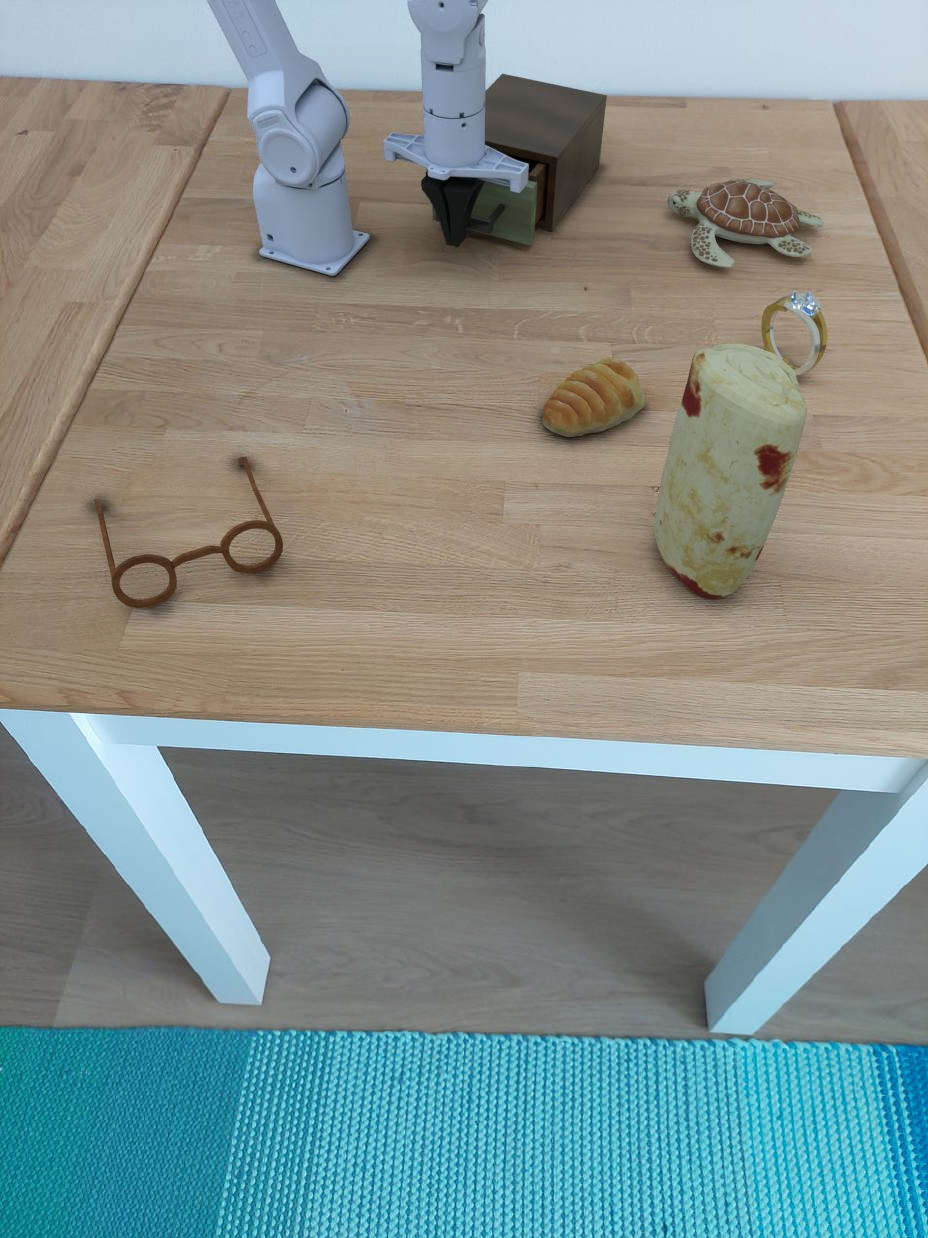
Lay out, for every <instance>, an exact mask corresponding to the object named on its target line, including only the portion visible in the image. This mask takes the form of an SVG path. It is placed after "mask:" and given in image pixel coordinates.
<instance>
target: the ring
mask: <svg viewBox="0 0 928 1238" xmlns="http://www.w3.org/2000/svg"><path fill="white" fill-rule="evenodd" d="M812 294H813V293H812V291H811V290H810V291H807V292H806V293H798V290H796V289H793V290H792V293H791V294H788V295H785V296H781V298H778V299H777V300H776V301H775V302H773V303H771V304H769V305H767V306H766V307H765V308H764V309H763V312H762V316H761V325H760V326H761V327H760V329H761V330H760V331H761V337H762V342H763V347H764V350H766V351H768V352H771V353H774V354H775V355H777V356H778V357H779V358H780V359H781V360H783V361H784V362H785V363H786V364H787V365H789V366H790V367H791V368H792V369H793V370H794V372H795V375H796V376H800V375H801V376H802V375H804V374H806V373H809V372H810V371H812V370H813V369H815V368H816V367H817V366H818V364H819V363H820V362H821V360H822V359H823V356H824V355H825V351H826V349H827V344H828V326H827V322H826V319H825V317H824V314H823V313H822V311H821V309H822V303H821V301H820V300H819V299H818V297H816V296H814V295H812ZM779 312H784V313H787V312H789V313H791V314H792V315H794V316H795V317H796V318H798V319H799V320H800V321H801V322H802V323H803V324H804V325H805V327H806V328H807V330H808V333H809V336H810V351H809V355H808V358H807V360H806V361H805V363H804V364H803V365H802V366H794V365H793V364H791V363H790V360H789V359H788V358H786V357H783V356H782V355H781V353H780V352H779V350H778V348H777V344H776V341H775V336H774V324H775V319H776V316H777V314H778V313H779Z"/></svg>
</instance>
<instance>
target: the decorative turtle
mask: <svg viewBox="0 0 928 1238" xmlns="http://www.w3.org/2000/svg"><path fill="white" fill-rule="evenodd" d="M772 187H774V182H772V181H770V180H763V179H755V178H754V179H753V178H751V179H750V178H742V179H741V178H740V179H739V178H738V179H737V178H736V179H730V180H726V181H721V182H716V183H712V184H710V185H709V186H706V187H705V188H703V189H702V191H694V190H690V189H682V188H681V189H677V190H675V191H674V192H673V193H672V194H671V195H669V196H668V198H667V206H668V208H669V209H670V210H671V211H672V212H673V213H675V214H676V215H677V216H680V217H685V218H694V219H695V220H696V221H698V224H697V225H696V226H695V227H694V228H693V231H692V233H691V235H690V248H691V251H692V252H693V255H694V256H695V257H696V258H697V259H698V260H700V261H701V262H703V263H705V264H706V265H710V266H713V267H717V268H718V267H719V268H723V269H730V268H732V267H733V266H734V265H735V260H734V259H733V258H732V257H731V256H730V255H729V254H728V253H726V252H725V251H724V250H723V249H722V248H721V247H720V246H719V244H718V243H717V240H716V237H718V238H721V239H724V240H725V239H726V240H728V241H733V242H736V243H741V244H750V245H751V244H752V245H764V244H769V245H770V246H771V247H772V248H773V249H774V250H775V251H777V252H778V253H779V254H782V255H784V256H787V257H791V258H792V257H793V258H806V257H808V256H810V255H811V253H812V252H813V248H812V247H811V246H810V245H808V243H805V242H803V241H801V240H800V239H798V238H796V237H794V236H793V235H795V234H796V233H797V232H798V231H799V228H800V226H801V224H804V225H807V226H810V227H817V228H821V227H823V226H824V223H825V222H824V220H823V219H822V218H821V217H820V216H817V215H815V214H812V213H810V212H807V211H806V210H805V211H804V210H802V209H798V208H797V206H795V205H794V204H792V203H791V202H790V201H788V200H787V199H786V198H785V197H783V196H781V195H780V194H778V193H776V192H775V191H773V190H771V189H772Z"/></svg>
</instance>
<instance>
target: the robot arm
mask: <svg viewBox="0 0 928 1238" xmlns="http://www.w3.org/2000/svg"><path fill="white" fill-rule="evenodd" d="M488 1H489V0H407V8H408V14H409V16H410V18H411V21H412V23H413V25H414V26H415V28H416V29H417V30H418V32H419V34H420V51H419V52H420V71H421V73H420V74H421V95H422V97H421V98H422V122H423V123H422V124H423V134H414V133H413V134H411V133H402V132H401V133H400V132H397V131H392V132H390V133H389V134H388V135H387V136H386V137H385V138H384V139H383V140H382V148H383V159H384V161H387V162H391V163H394V162H396V161H397V160H398V161H403V162H407V163H411V164H413V165H414V164H415V165H419V166H421V167H423V168H424V169H425V176H424V177H423V178H422V179H421V181H420V186H421V191H422V192H423V193H424V194H425V197H427V199H428V200H429V202H430V203H431V205H433V207H434V209H435V211H436V214H437V216H438V219H439V221H440V222H439V224H440V227H441V231H442V234H443V237H444V241H445V244H446V245H447V246H451V247H455V248H460V246H461V245H462V244H463V242H464V241H465V240H466V239H467V235H468V225H469V221H470V217H471V214H472V210H473V208H474V205H475V202H476V200H477V197H478V195H479V193H480V191H481V189H482V187H483V185H484V183H485V181H488V182H492V183H496V184H500V185H505V186H509V187H510V190H511V191H513V192H517V193H520V192H521V191H522V190H523V189H524V188H525V186H526V185H527V184H528V170H529V164H527V163H524V162H520V161H517V160H515V159H513V158H511V157H509V156H507V155H505V154H503V153H501V152H499V151H497V150H495V149H493V148H491V147H489V146H487V145H485V91H486V78H487V77H486V75H487V74H486V71H487V68H486V67H487V58H486V57H487V49H486V41H485V40H486V15H485V14H484V13H482V11H483V10H484V8H485V7H486V5H487V3H488ZM206 2H207V4H208V6H209V8H210V10H211V12H212V14H213V16H214V17H215V20H216V22H217V23H218V25H219V27H220V29H221V32H222V33H223V35H224V37H225V39H226V41H227V43H228V45H229V47H230V49H231V51H232V53H233V55H234V56H235V58H236V60H237V62H238V64H239V67H240V68H241V70H242V72H243V74H244V77H245V79H246V80H247V85H248V86H247V87H248V88H247V107H246V108H247V111H246V114H247V115H246V117H247V121H248V122H249V124H250V126H251V129H252V130H253V133H254V135H255V141H256V150H257V155H258V158H259V160H260V163H259V165H258V166H257V169H256V171H255V173H254V176H253V181H252V182H253V183H252V198H253V203H254V209H255V213H256V218H257V223H258V228H259V234H260V239H261V244H262V247H261V248H260V249H259V250H258V252H259V253H258V254H259V255H260V256H261V257H264V258H267V259H271V260H274V261H278V262H281V263H285V264H289V265H292V266H295V267H299V268H303V269H306V270H310V271H313V272H317V273H320V274H324V275H327V276H331V277H334V276H337V275H338V274H339V273H340V271H342V269H343V268H345V266H346V265H347V264H348V263H349V262H350V261H351V260H352V259H353V258H354V257H355V256H356V255H357V253H358V252H359V251H360V250H361V249H362V248H363V247H364V246H365V245H366V244H367V243H368V242H369V241H370V239H371V238H370V234H369V233H367V232H362V231H359V230H355V229H353V220H352V212H351V203H350V195H349V186H348V185H349V184H348V177H347V169H346V160H345V157H344V154H343V148H342V147H343V146H342V140H343V139H344V138H345V137H346V135H347V133H348V131H349V129H350V125H351V124H350V123H351V118H350V111H349V107H348V104H347V102H346V100H345V98H344V97H343V95H342V94H341V93H340V92H339V90H337V89H336V88H335V87H334V86H333V84H331V83H330V81H329V80H328V79H327V77H326V76H325V74H324V72H323V70H322V68H321V66H320V63H319V62H318V61H316V60H314V59H313V58H311V57H308V56H307V55H305V54H303V53H301V52H300V51H299V49H298V46H297V44H296V42H295V40H294V38H293V36H292V33H291V32H290V30H289V27H288V25H287V23H286V20H285V19H284V16H283V15H282V14H283V13H281V10H280V7H279V6H278V4H277V2H276V0H206Z"/></svg>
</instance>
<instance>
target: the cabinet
mask: <svg viewBox="0 0 928 1238" xmlns="http://www.w3.org/2000/svg"><path fill="white" fill-rule="evenodd" d="M607 98H608V95H607V94H603V93H598V92H595V91H588V90H583V89H579V88H574V87H570V86H564V85H560V84H554V83H550V82H546V81H545V82H544V81H540V80H535V79H532V78H531V79H530V78H526V77H521V76H516V75H511V74H506V73H501V74H500V75H499V76H498V77H497V78H496V80H495V81H493V82H492V83H491V85H490V86H489V87H488V88H487V89H485V145H487V146H489V147H491V148H493V149H495V150H497V151H499V152H501V153H505V154H509V155H514V156H518V157H522V158H527V159H531V160H535V161H539V162H544V163H548V164H549V171H548V186H547V201H546V211H545V213H544V214H543V215H542V217H541V218H540V219H539V220H538V222H537V223H536V224H535V229H536V228H537V229H541V230H544V231H548V232H553V230H555V228H556V226H557V225H558V224H559V223H560V221H561V220H562V219H563V217H564V216H565V214H566V213H567V212H568V210H569V209H570V208H571V207H572V205H573V204H574V202H575V201H576V199H577V198H578V197H579V195H580V194H581V193H582V191H583V190H584V188H585V187H586V186H587V184H589V182H590V181H591V179H592V178H593V176H594V175H595V174H596V172H598V170H599V168H600V160H601V153H602V143H603V133H604V125H605V116H606V108H607Z"/></svg>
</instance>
